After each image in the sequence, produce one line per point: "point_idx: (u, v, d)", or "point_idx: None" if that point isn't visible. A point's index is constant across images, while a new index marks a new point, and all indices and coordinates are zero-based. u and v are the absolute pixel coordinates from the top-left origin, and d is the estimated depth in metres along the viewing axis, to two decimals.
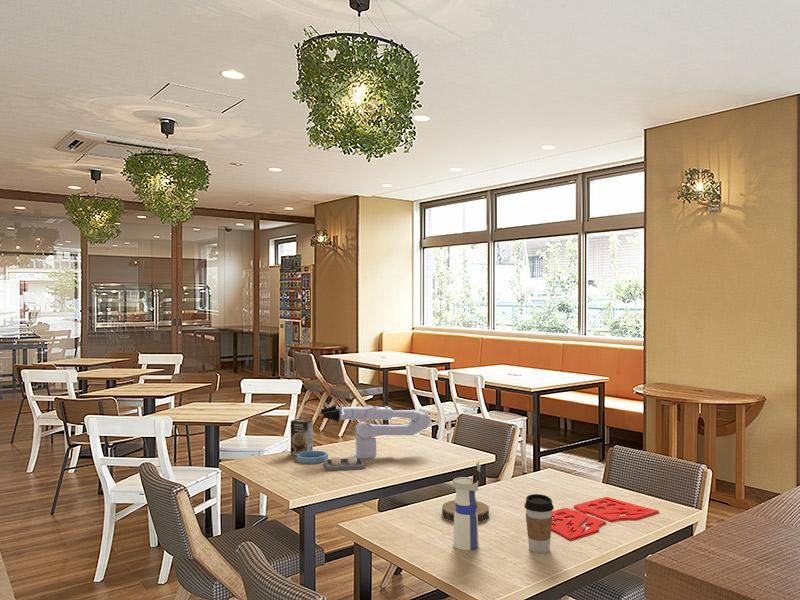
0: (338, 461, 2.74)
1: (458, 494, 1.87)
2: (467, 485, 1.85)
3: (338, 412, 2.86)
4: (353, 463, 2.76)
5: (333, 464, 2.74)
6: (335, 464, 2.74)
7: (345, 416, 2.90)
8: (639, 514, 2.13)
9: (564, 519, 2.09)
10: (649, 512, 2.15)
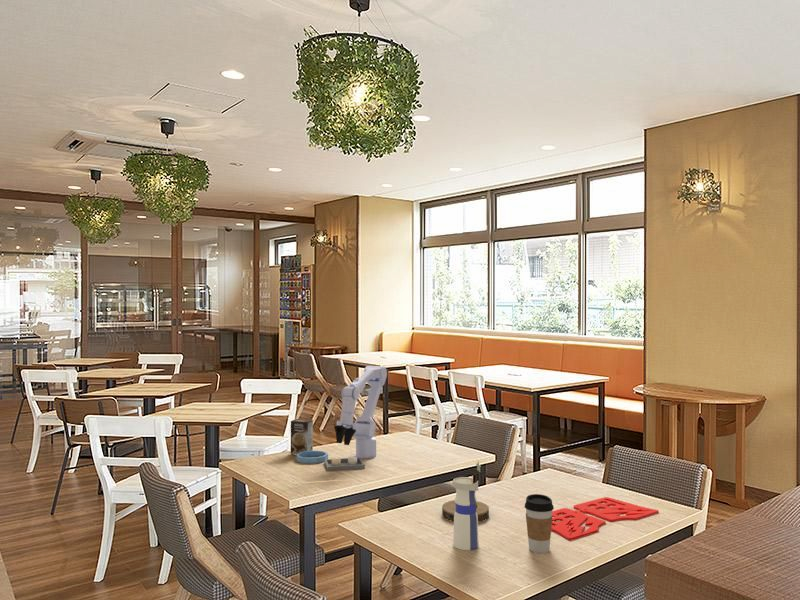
0: (338, 461, 2.74)
1: (458, 494, 1.87)
2: (467, 485, 1.85)
3: None
4: (353, 463, 2.76)
5: (333, 464, 2.74)
6: (335, 464, 2.74)
7: None
8: (639, 514, 2.13)
9: (564, 519, 2.09)
10: (649, 512, 2.15)
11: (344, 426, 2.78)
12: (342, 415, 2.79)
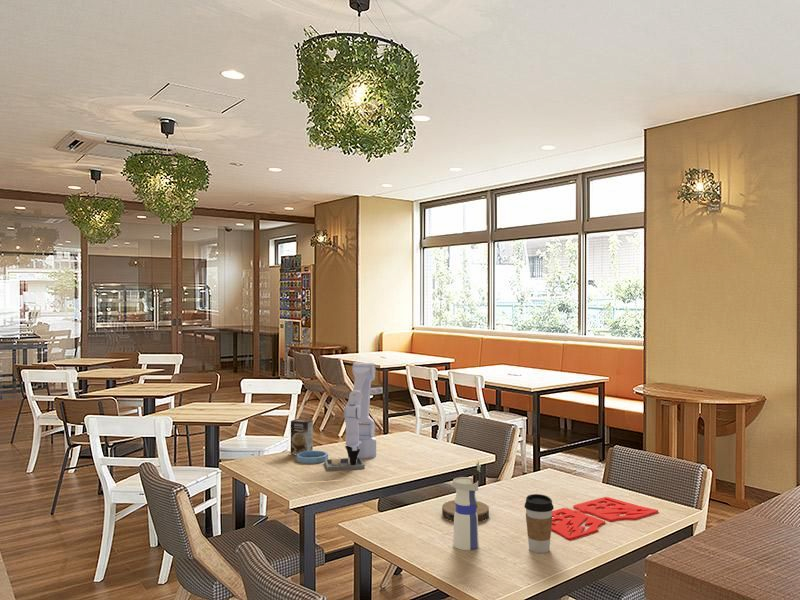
0: (338, 461, 2.74)
1: (458, 494, 1.87)
2: (467, 485, 1.85)
3: None
4: None
5: (333, 464, 2.74)
6: (335, 464, 2.74)
7: None
8: (639, 514, 2.13)
9: (564, 519, 2.09)
10: (649, 512, 2.15)
11: None
12: (350, 437, 2.75)
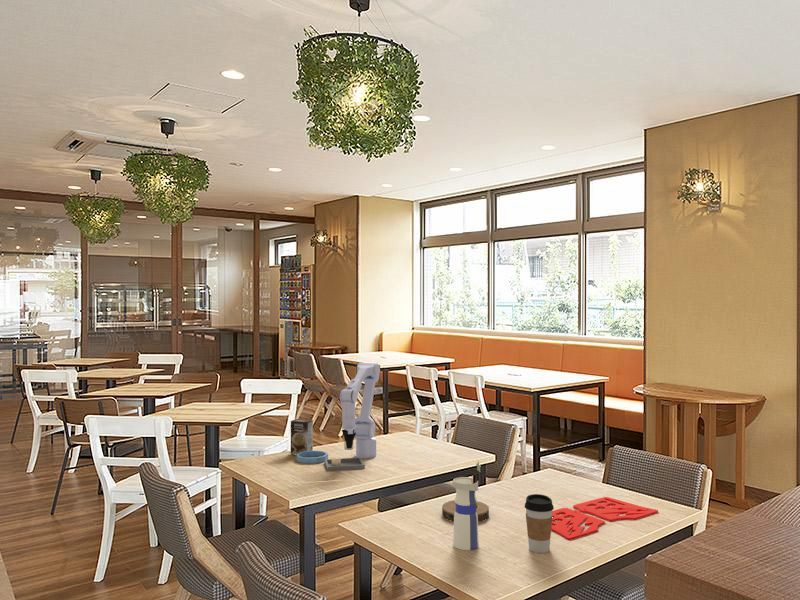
0: (338, 461, 2.74)
1: (458, 494, 1.87)
2: (467, 485, 1.85)
3: None
4: None
5: (333, 464, 2.74)
6: (335, 464, 2.74)
7: None
8: (638, 514, 2.13)
9: (563, 518, 2.09)
10: (648, 512, 2.15)
11: None
12: (347, 420, 2.76)
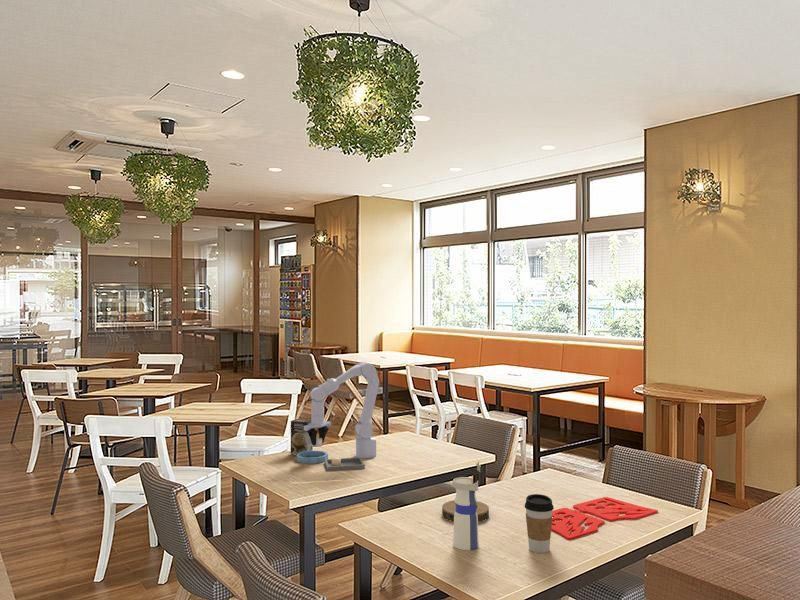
0: (338, 461, 2.74)
1: (458, 494, 1.87)
2: (467, 485, 1.85)
3: None
4: None
5: (333, 464, 2.74)
6: (335, 464, 2.74)
7: None
8: (638, 514, 2.13)
9: (563, 518, 2.09)
10: (648, 512, 2.15)
11: (315, 428, 2.87)
12: (311, 418, 2.87)
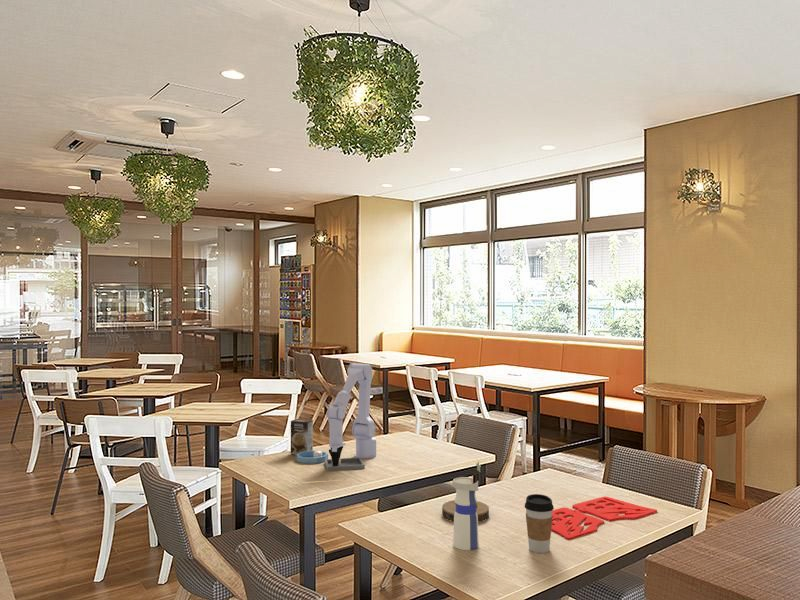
0: None
1: (458, 494, 1.87)
2: (467, 485, 1.85)
3: None
4: None
5: None
6: None
7: None
8: (638, 514, 2.13)
9: (563, 518, 2.09)
10: (648, 512, 2.15)
11: None
12: (333, 438, 2.73)
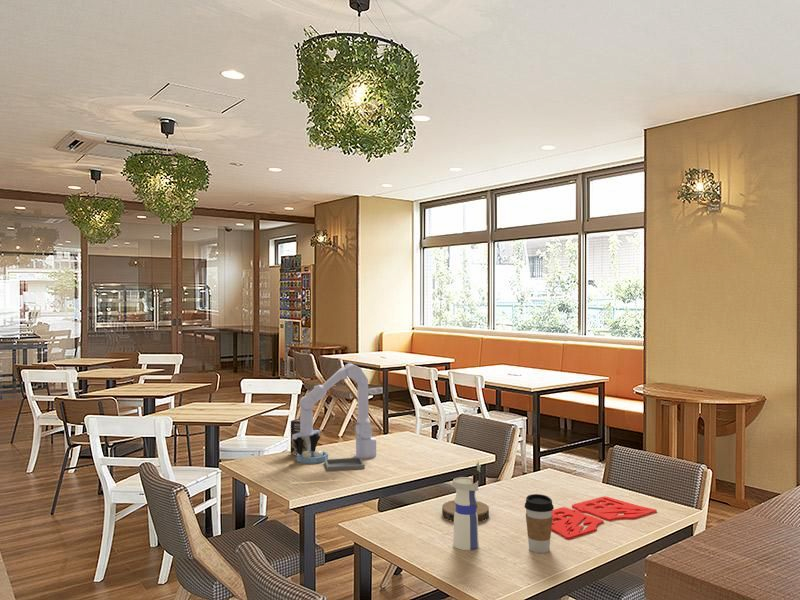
0: (305, 455, 2.85)
1: (458, 494, 1.87)
2: (467, 485, 1.85)
3: None
4: (314, 456, 2.87)
5: None
6: None
7: None
8: (637, 513, 2.13)
9: (562, 518, 2.09)
10: (647, 511, 2.15)
11: (304, 436, 2.86)
12: (300, 426, 2.86)
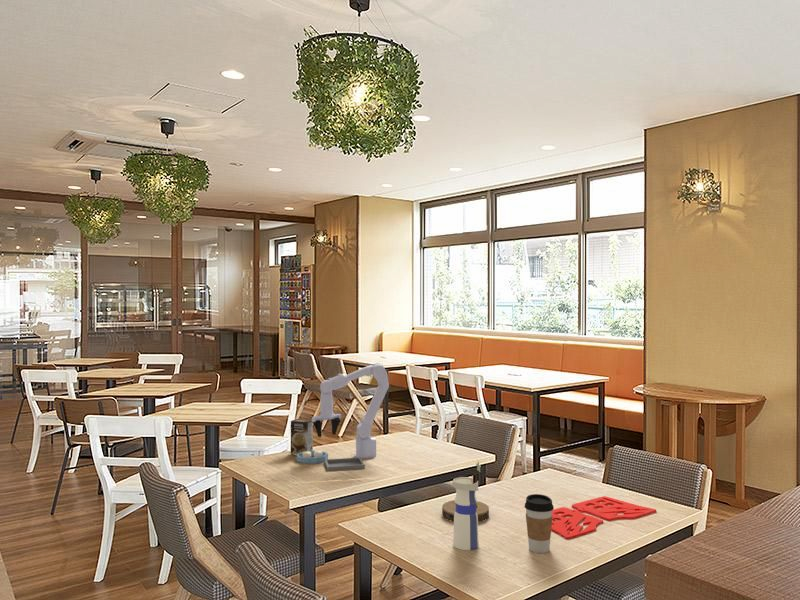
0: (305, 455, 2.85)
1: (458, 494, 1.87)
2: (467, 485, 1.85)
3: None
4: None
5: None
6: None
7: None
8: (637, 513, 2.14)
9: (562, 518, 2.09)
10: (647, 511, 2.15)
11: (324, 419, 2.92)
12: (320, 409, 2.92)
